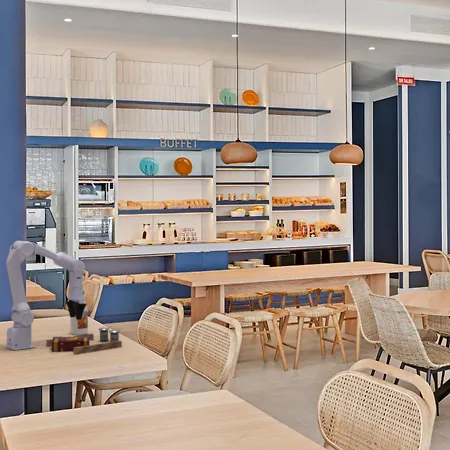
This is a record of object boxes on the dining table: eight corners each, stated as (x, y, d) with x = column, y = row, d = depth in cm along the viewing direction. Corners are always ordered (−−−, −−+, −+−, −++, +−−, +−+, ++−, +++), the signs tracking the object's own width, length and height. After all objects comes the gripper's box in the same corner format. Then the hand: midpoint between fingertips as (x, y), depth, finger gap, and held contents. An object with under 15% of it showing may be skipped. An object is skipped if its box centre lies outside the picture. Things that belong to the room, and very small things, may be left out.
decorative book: (89, 351, 273) (89, 339, 273) (48, 353, 270) (48, 340, 270) (89, 346, 284) (89, 334, 284) (50, 347, 281) (50, 335, 281)
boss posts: (113, 345, 284) (113, 332, 284) (96, 341, 293) (96, 328, 293) (122, 344, 287) (122, 330, 287) (105, 339, 297) (105, 327, 297)
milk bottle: (71, 335, 306) (71, 291, 306) (70, 332, 314) (70, 289, 313) (88, 334, 308) (88, 291, 308) (87, 331, 316) (87, 289, 316)
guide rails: (75, 354, 266) (75, 348, 266) (46, 345, 283) (46, 339, 283) (121, 347, 281) (121, 341, 281) (91, 339, 298) (91, 333, 298)
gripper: (90, 288, 289) (90, 319, 290) (78, 285, 302) (78, 315, 302) (75, 289, 286) (75, 321, 286) (63, 285, 298) (63, 316, 298)
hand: (75, 318), depth 294 cm, fingers open, 7 cm apart
